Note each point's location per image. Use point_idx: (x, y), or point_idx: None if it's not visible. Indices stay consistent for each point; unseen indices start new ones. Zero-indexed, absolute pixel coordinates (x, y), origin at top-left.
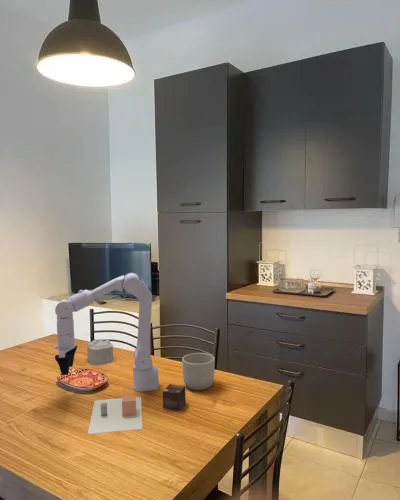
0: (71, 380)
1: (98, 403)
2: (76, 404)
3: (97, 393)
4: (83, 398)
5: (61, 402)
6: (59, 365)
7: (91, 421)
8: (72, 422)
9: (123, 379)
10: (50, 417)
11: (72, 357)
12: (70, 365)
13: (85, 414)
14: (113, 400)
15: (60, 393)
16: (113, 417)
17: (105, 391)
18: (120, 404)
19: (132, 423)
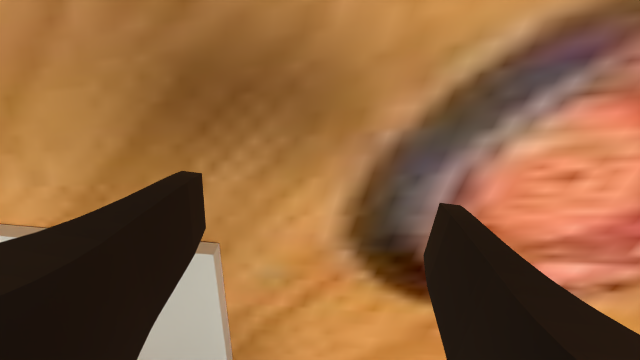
0: (634, 109)
1: None
2: (222, 162)
3: (340, 255)
4: (293, 194)
5: (260, 74)
6: (62, 232)
7: (2, 240)
8: (25, 154)
9: None
10: (59, 28)
11: (451, 358)
12: (430, 250)
13: None
14: (206, 319)
15: (412, 50)
16: None
17: (354, 286)
18: (165, 336)
19: None
